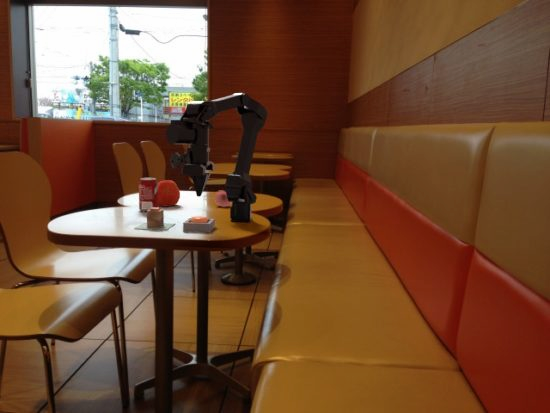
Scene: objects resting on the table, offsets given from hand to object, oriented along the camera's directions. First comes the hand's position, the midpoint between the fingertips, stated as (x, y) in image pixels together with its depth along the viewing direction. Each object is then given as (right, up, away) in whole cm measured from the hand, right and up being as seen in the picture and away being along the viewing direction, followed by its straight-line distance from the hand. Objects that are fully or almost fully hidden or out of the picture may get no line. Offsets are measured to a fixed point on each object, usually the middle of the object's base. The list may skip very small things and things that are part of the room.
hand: (198, 196), depth 137 cm
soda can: (-24, -5, +31) cm, 39 cm away
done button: (0, -9, +2) cm, 10 cm away
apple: (-20, -3, +43) cm, 48 cm away
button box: (0, -10, +2) cm, 10 cm away
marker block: (-14, -9, +3) cm, 17 cm away
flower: (+2, -3, +45) cm, 46 cm away
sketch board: (-14, -9, +3) cm, 17 cm away
